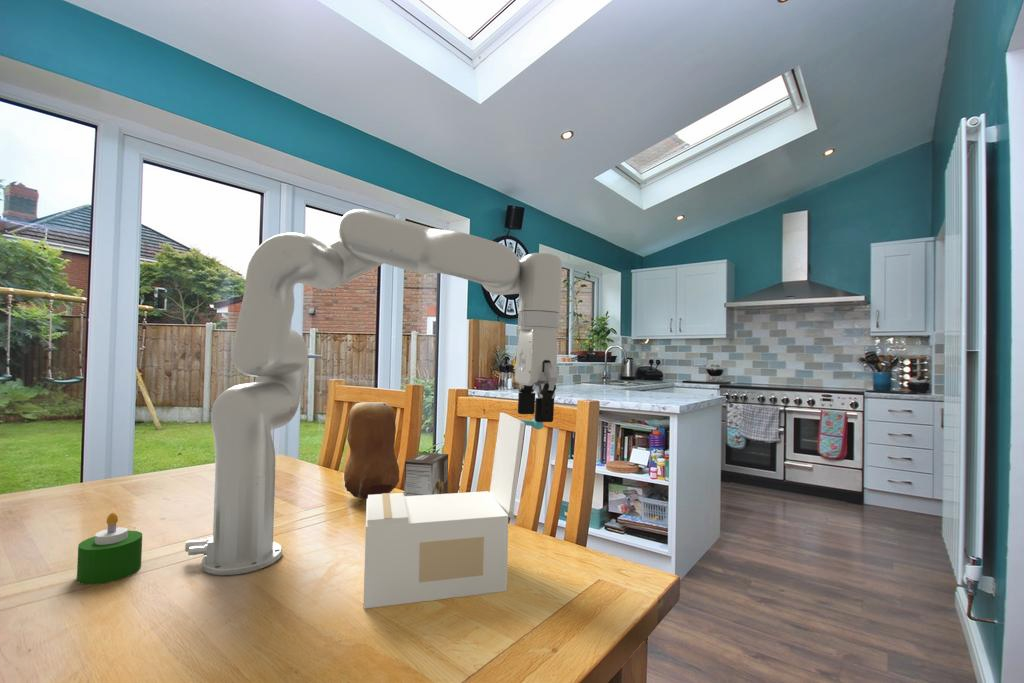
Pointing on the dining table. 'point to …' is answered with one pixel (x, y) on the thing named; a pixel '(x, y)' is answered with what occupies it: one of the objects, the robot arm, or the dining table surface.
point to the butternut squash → (371, 450)
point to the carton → (433, 547)
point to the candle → (109, 554)
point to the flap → (508, 460)
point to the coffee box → (426, 475)
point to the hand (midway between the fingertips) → (534, 417)
